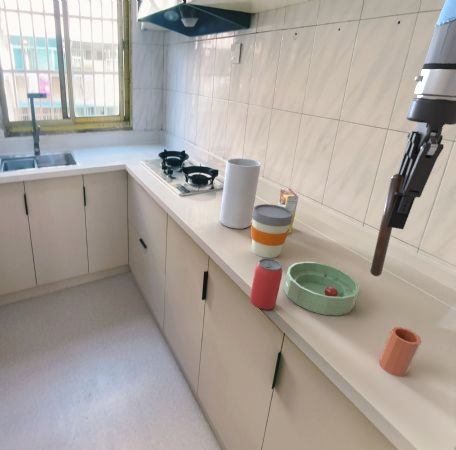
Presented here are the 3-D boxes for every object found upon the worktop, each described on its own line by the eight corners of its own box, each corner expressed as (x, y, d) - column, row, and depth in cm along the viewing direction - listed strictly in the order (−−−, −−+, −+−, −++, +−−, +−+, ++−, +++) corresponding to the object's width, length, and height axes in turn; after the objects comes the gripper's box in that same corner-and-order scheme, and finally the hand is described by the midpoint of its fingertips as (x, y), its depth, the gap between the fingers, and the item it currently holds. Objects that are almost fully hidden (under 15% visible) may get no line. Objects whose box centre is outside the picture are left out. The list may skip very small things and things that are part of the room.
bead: (336, 296, 92) (339, 286, 90) (336, 302, 89) (339, 292, 88) (323, 292, 93) (326, 283, 92) (323, 299, 90) (325, 289, 89)
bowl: (350, 289, 96) (356, 271, 94) (354, 326, 82) (361, 306, 79) (287, 273, 103) (290, 256, 100) (279, 305, 88) (284, 285, 86)
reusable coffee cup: (269, 264, 107) (277, 221, 101) (238, 248, 117) (244, 208, 110) (292, 254, 114) (301, 213, 108) (261, 240, 123) (268, 201, 117)
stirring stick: (380, 274, 72) (403, 172, 64) (381, 278, 70) (405, 175, 62) (369, 272, 73) (391, 172, 65) (370, 277, 71) (392, 174, 63)
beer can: (244, 301, 89) (251, 262, 84) (258, 292, 93) (266, 254, 88) (265, 314, 85) (274, 273, 80) (280, 304, 89) (289, 265, 84)
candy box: (273, 223, 138) (280, 188, 131) (284, 224, 137) (291, 188, 131) (279, 233, 129) (287, 195, 123) (291, 233, 129) (299, 196, 123)
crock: (403, 364, 71) (418, 331, 68) (407, 381, 67) (423, 347, 64) (377, 356, 73) (390, 324, 69) (379, 372, 69) (393, 339, 65)
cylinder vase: (213, 218, 140) (220, 159, 130) (239, 215, 144) (247, 157, 134) (230, 231, 129) (238, 167, 119) (257, 227, 134) (267, 165, 123)
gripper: (404, 94, 65) (367, 209, 74) (423, 98, 52) (376, 235, 62) (452, 97, 62) (407, 215, 72) (485, 102, 49) (425, 244, 59)
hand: (393, 224), depth 67 cm, fingers closed on stirring stick, 2 cm apart
